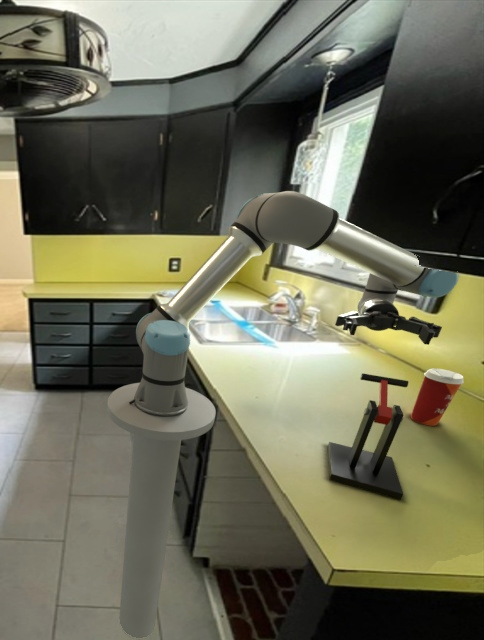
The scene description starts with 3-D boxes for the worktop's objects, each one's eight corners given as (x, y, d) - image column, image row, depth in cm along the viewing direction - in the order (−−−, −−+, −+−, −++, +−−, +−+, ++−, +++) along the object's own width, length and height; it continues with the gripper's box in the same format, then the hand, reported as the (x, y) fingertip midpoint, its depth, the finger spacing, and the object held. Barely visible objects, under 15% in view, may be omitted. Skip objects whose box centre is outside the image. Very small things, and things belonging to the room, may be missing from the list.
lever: (359, 377, 82) (363, 370, 80) (404, 385, 78) (409, 378, 76) (356, 418, 75) (360, 411, 73) (405, 429, 72) (411, 421, 70)
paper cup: (444, 430, 94) (468, 382, 88) (406, 421, 98) (427, 374, 92) (440, 418, 100) (463, 372, 94) (405, 410, 104) (424, 365, 98)
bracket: (327, 446, 87) (347, 387, 81) (389, 462, 82) (416, 400, 75) (329, 479, 76) (352, 414, 70) (401, 500, 71) (434, 431, 64)
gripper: (433, 334, 95) (456, 359, 78) (321, 321, 106) (321, 341, 90) (445, 305, 92) (471, 325, 75) (329, 296, 103) (330, 311, 87)
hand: (390, 334), depth 82 cm, fingers open, 13 cm apart
